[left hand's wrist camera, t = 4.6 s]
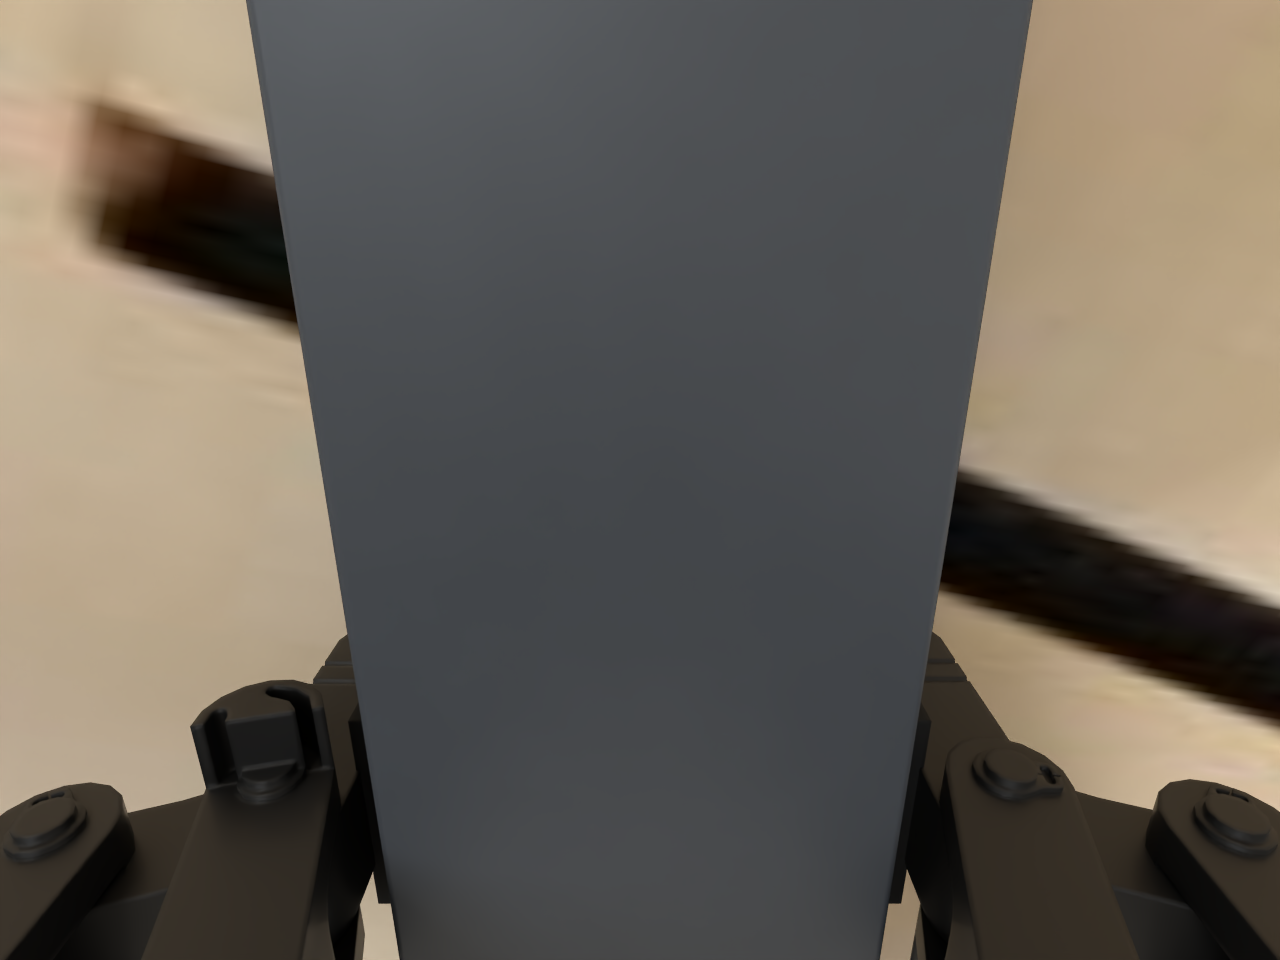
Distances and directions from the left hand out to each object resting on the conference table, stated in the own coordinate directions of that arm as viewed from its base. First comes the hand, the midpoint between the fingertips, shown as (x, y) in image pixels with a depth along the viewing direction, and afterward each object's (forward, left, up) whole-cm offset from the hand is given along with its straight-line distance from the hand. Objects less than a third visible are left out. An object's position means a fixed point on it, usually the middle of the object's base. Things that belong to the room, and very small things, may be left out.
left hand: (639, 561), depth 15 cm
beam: (+18, +30, -1) cm, 35 cm away
